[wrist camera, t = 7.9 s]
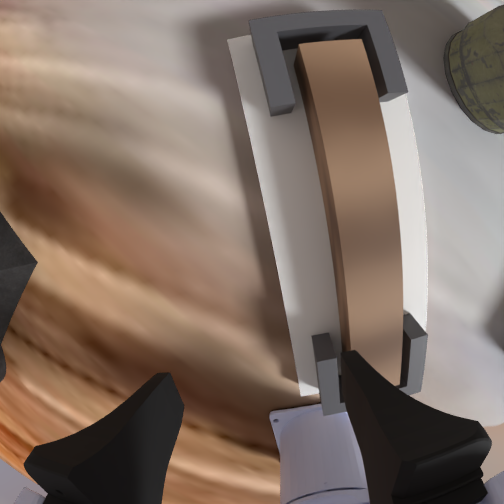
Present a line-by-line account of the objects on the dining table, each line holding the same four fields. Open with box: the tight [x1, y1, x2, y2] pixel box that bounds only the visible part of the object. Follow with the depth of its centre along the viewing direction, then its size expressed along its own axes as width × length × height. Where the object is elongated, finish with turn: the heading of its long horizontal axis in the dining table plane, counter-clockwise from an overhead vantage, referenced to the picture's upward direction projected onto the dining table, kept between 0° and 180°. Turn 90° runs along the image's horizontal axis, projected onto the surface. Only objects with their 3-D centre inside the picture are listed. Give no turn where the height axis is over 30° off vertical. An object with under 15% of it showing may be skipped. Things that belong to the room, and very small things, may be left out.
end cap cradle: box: [227, 10, 428, 416], centre depth 17 cm, size 25×10×4 cm, turn 12°
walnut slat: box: [294, 39, 403, 386], centre depth 16 cm, size 20×3×4 cm, turn 12°
